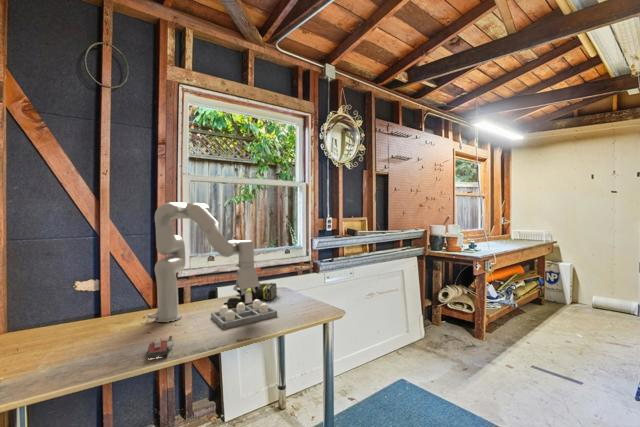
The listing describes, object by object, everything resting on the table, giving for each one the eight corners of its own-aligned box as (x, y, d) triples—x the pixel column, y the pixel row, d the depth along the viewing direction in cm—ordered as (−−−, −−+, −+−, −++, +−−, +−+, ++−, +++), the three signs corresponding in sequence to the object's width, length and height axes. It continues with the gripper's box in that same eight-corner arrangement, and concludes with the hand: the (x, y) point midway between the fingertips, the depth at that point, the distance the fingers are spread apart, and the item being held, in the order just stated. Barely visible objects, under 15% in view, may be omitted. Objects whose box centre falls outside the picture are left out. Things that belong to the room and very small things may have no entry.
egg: (245, 303, 155) (245, 292, 155) (242, 301, 158) (241, 290, 158) (253, 302, 157) (253, 290, 157) (250, 300, 161) (249, 288, 161)
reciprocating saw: (255, 312, 167) (221, 312, 171) (281, 294, 209) (253, 294, 213) (255, 294, 167) (220, 294, 171) (281, 280, 209) (253, 280, 213)
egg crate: (223, 329, 146) (222, 315, 146) (211, 317, 161) (210, 305, 161) (277, 316, 162) (276, 303, 162) (261, 307, 178) (261, 295, 177)
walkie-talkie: (173, 358, 119) (173, 338, 137) (172, 346, 119) (173, 328, 137) (146, 363, 115) (150, 342, 133) (146, 351, 115) (150, 332, 133)
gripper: (232, 268, 150) (234, 306, 150) (265, 263, 159) (266, 299, 160) (227, 266, 156) (228, 302, 156) (258, 262, 165) (260, 296, 166)
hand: (247, 300), depth 158 cm, fingers closed on egg, 4 cm apart
